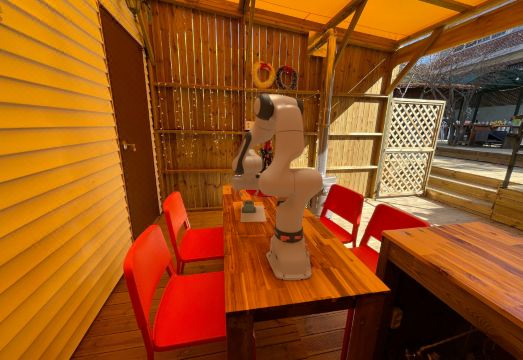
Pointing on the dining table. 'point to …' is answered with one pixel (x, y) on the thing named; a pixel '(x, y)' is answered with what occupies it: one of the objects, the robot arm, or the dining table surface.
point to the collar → (248, 206)
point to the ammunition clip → (281, 200)
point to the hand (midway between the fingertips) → (248, 196)
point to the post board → (253, 214)
